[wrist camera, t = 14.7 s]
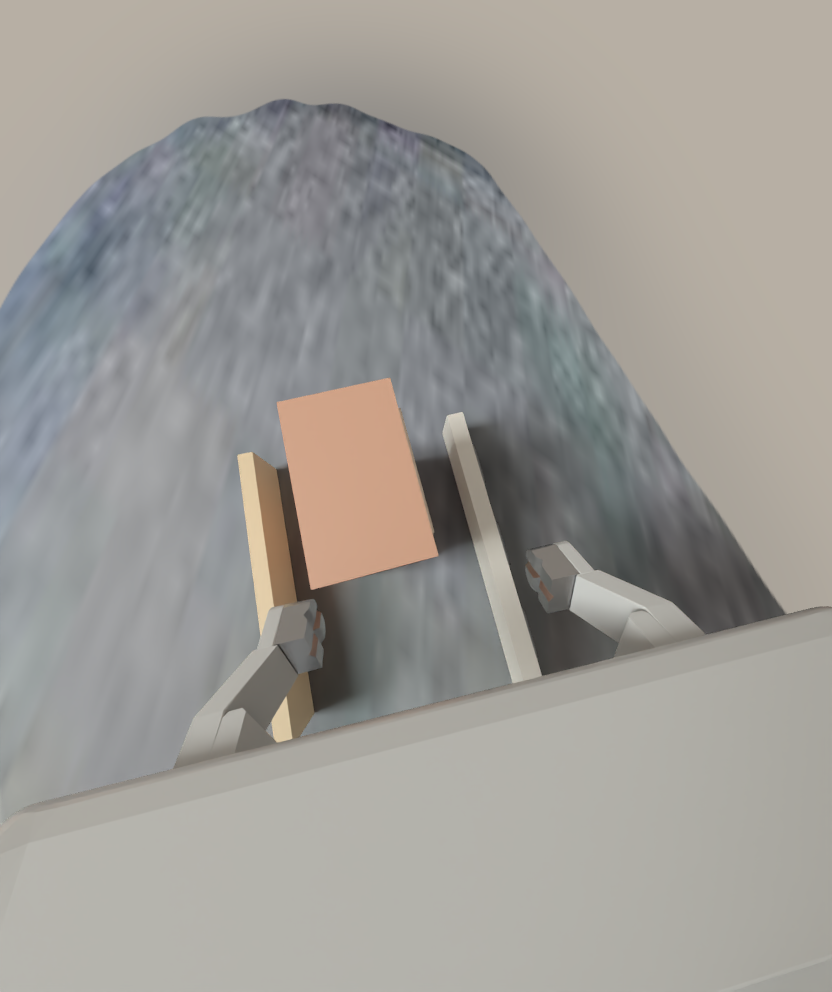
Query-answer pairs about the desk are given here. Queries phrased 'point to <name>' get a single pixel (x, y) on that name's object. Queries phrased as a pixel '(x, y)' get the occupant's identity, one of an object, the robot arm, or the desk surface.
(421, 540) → the carton
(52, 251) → the desk surface
